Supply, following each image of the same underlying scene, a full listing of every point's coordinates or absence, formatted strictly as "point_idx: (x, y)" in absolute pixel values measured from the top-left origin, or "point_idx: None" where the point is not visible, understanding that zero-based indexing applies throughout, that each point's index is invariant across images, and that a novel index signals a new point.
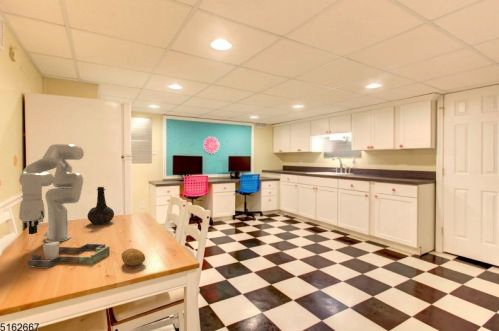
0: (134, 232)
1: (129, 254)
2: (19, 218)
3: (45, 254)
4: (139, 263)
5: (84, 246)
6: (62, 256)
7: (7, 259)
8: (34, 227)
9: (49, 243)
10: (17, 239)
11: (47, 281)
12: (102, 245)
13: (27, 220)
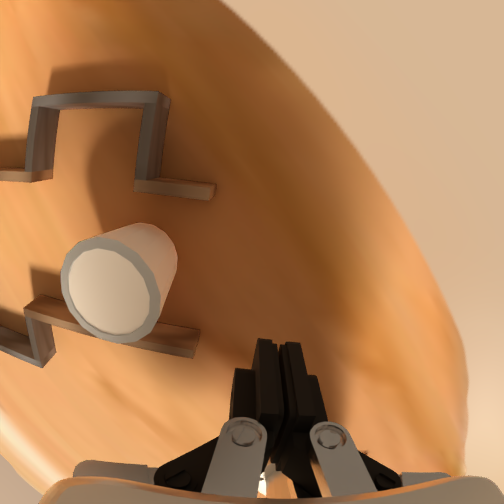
0: (56, 474)
1: None
2: (499, 489)
3: (142, 229)
4: None
5: (32, 338)
6: (11, 171)
7: (396, 233)
8: (233, 414)
9: (123, 299)
10: (460, 446)
11: (12, 3)
12: None
13: (330, 498)
